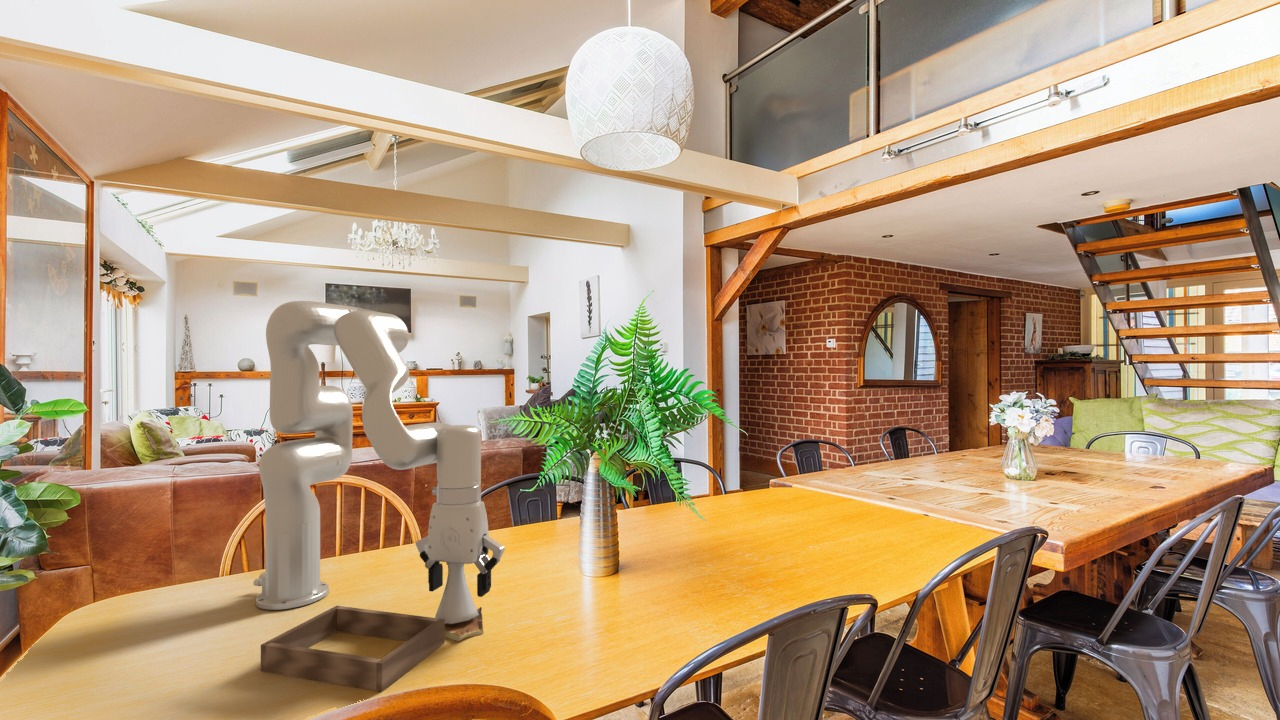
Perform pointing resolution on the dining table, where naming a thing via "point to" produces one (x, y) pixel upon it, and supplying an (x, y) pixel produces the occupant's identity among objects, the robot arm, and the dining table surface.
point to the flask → (456, 597)
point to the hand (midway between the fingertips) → (459, 591)
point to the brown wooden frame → (351, 670)
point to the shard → (465, 628)
